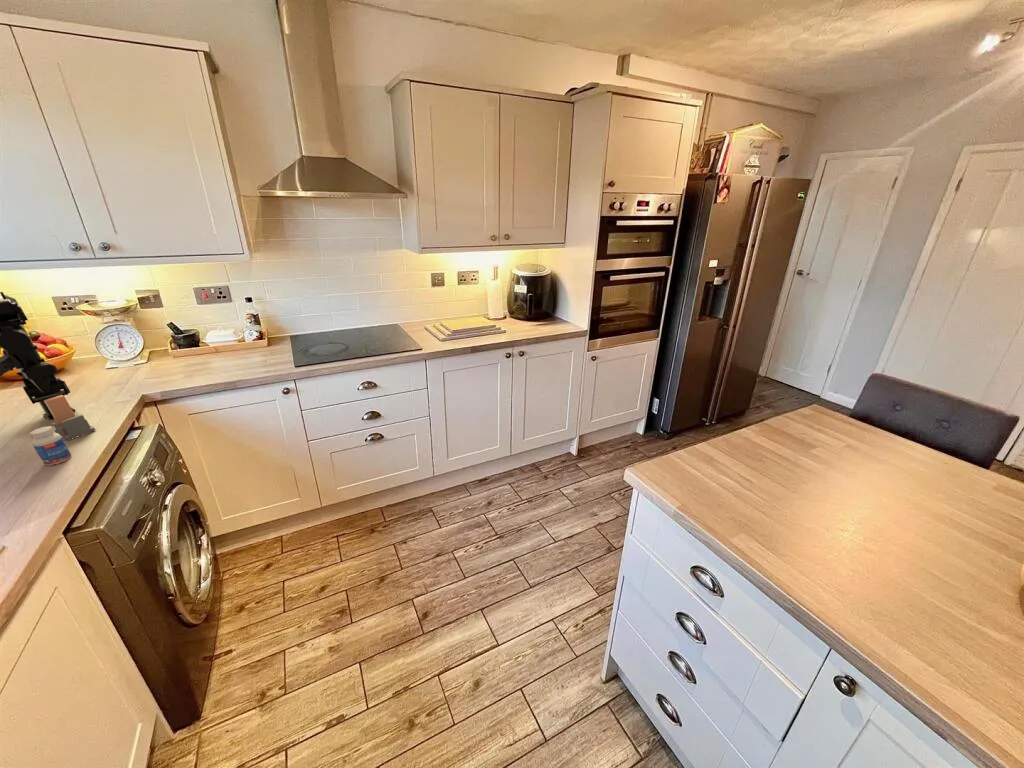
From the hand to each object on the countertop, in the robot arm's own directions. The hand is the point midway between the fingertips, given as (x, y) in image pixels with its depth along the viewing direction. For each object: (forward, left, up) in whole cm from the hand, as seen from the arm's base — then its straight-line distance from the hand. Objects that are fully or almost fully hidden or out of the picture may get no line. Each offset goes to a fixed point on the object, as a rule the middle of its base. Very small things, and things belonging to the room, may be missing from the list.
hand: (45, 392), depth 125 cm
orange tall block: (+5, 0, -11) cm, 12 cm away
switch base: (+8, 0, -12) cm, 14 cm away
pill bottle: (+24, -8, -12) cm, 28 cm away
